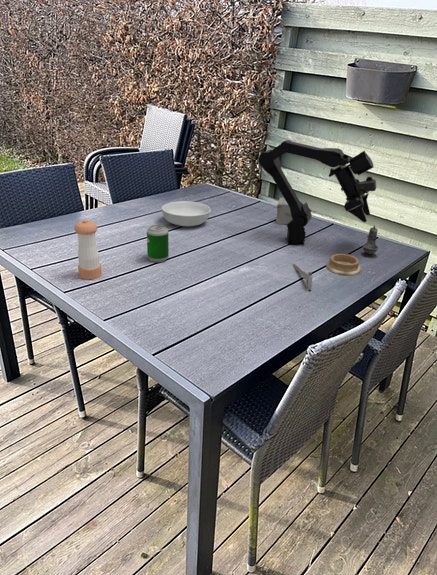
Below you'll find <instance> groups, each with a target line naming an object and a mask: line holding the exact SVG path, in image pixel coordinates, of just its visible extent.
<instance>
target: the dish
mask: <svg viewBox="0 0 437 575" xmlns="http://www.w3.org/2000/svg"><path fill="white" fill-rule="evenodd" d="M360 262H361V261H360V260H359V258H358V257H356V256H354V255H352V254H347V253H335V254H332V255H331V256H330V257H329V260H328V261H327V262H326V264H325V267H326V269H327V270H328V271H329V272H331V273H332V274H333V273H334V274H337V275H340V276H345V277H346V276H348V277H349V276H356V275H359V274H360V273H361V271H362V267H361V266H360Z"/></svg>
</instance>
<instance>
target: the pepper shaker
mask: <svg viewBox="0 0 437 575" xmlns="http://www.w3.org/2000/svg"><path fill="white" fill-rule="evenodd" d="M74 231H75V233H76V234H77V240H78V242H77V243H78V248H77V249H78V251H77V259H78V266H77V269H78V277H79V276H80V277H81V278H80V277H79V278H80V279H82V278H83V279H82V280H86V279H91V280H95V278H96V279H99V278H100V277H101V276H102V275H101V274H102V265H101V263H100V254H99V250H98V246H97V236H96V233H97V231H98V225H97V224H96V222H94V221H92V220H88V219H85V218H84V219H83V220H81V221H78V222H77V223H76V224H75V225H74ZM98 277H99V278H98Z"/></svg>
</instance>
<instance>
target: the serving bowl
mask: <svg viewBox="0 0 437 575" xmlns="http://www.w3.org/2000/svg"><path fill="white" fill-rule="evenodd" d="M211 211H212V210H211V208H210V206H208V205H206V204H205V203H202V202H199V201H198V202H197V201H189V200H188V201H187V200H180V201H179V200H178V201H172V202H167V203H165V204H163V205H162V206H161V212H162V215H163V218H164V219H165V221H167V222H169V223H170V224H173V225H176V226H180V227H194V226H199V225H201V224H203V223H205V222H206V221H207V220H208V219H209V217H210V215H211Z"/></svg>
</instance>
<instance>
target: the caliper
mask: <svg viewBox="0 0 437 575" xmlns="http://www.w3.org/2000/svg"><path fill="white" fill-rule="evenodd" d="M292 266H293V267H294V269H295V270H296V271H297V272H298V273H299V274H300V275H302V279H303V281H304V280H305V288H306V289H307V291H312V285H313V272H312V271H309V270H305V269H304V268H303V267H302V266H300V265H299V264H298V263H296V262H295V263H292Z"/></svg>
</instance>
